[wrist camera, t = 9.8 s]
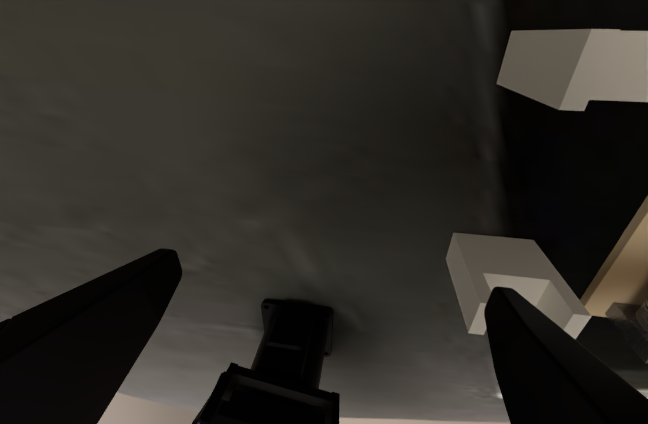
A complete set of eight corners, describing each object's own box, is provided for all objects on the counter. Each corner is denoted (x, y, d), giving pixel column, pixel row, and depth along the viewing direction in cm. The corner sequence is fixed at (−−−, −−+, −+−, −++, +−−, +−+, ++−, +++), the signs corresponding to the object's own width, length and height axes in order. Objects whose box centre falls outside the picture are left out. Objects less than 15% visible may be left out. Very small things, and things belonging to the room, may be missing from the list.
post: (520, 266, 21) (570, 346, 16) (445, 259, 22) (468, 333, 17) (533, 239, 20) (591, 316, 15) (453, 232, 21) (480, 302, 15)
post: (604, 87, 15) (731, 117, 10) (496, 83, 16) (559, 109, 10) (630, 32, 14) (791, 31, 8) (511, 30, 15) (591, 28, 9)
